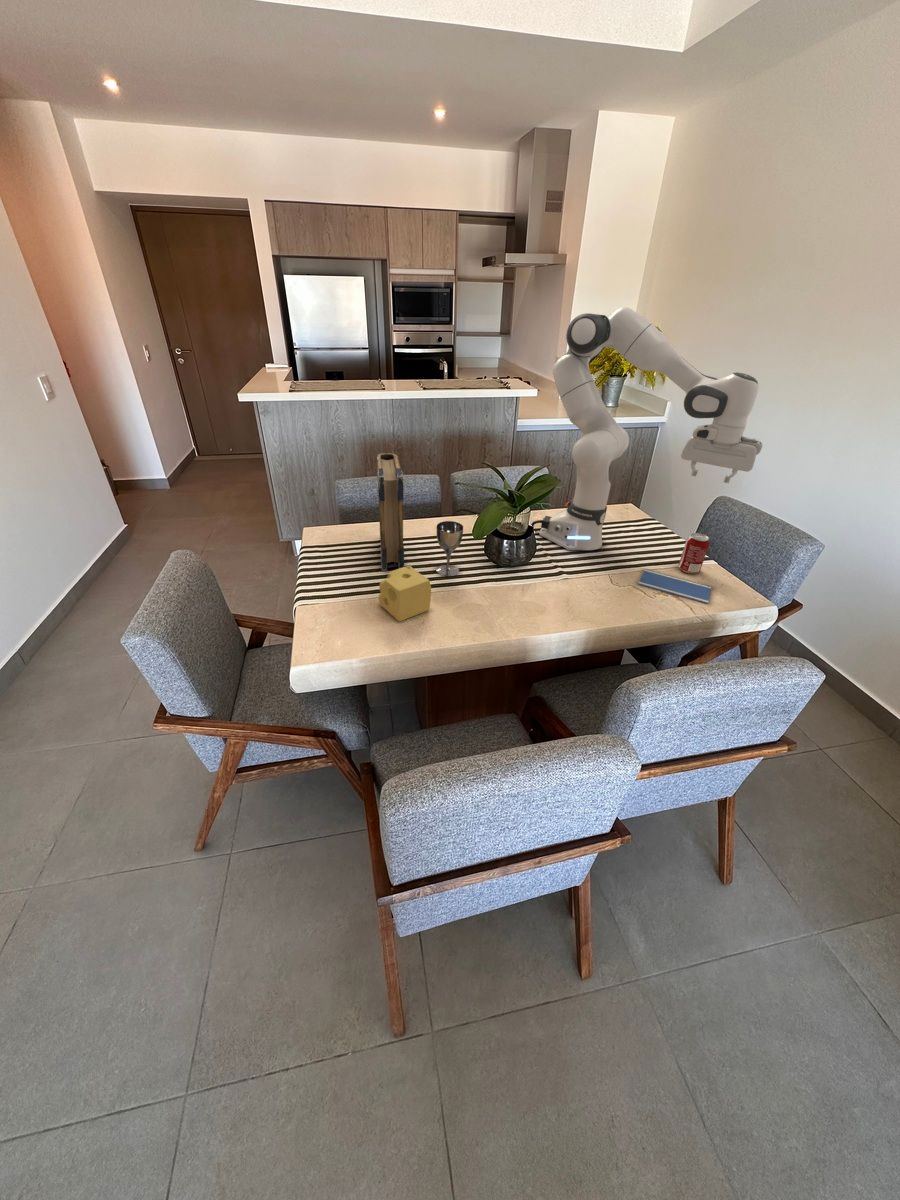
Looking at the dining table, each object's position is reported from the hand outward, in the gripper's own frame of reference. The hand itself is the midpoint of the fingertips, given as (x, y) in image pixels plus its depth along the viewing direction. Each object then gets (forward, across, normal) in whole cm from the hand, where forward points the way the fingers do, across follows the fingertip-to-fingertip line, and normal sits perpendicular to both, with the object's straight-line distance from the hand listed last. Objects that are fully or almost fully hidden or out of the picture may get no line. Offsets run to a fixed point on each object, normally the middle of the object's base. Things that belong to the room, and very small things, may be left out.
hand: (709, 479), depth 154 cm
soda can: (+28, -3, +8) cm, 29 cm away
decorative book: (+29, +84, +53) cm, 103 cm away
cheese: (+29, +61, +77) cm, 103 cm away
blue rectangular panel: (+28, -1, +21) cm, 35 cm away
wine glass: (+29, +62, +52) cm, 86 cm away
